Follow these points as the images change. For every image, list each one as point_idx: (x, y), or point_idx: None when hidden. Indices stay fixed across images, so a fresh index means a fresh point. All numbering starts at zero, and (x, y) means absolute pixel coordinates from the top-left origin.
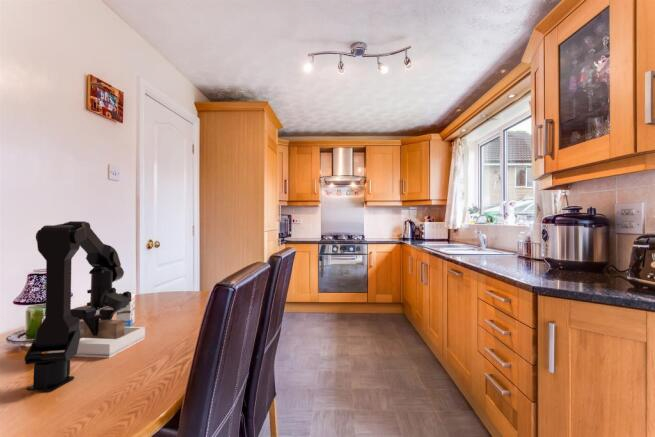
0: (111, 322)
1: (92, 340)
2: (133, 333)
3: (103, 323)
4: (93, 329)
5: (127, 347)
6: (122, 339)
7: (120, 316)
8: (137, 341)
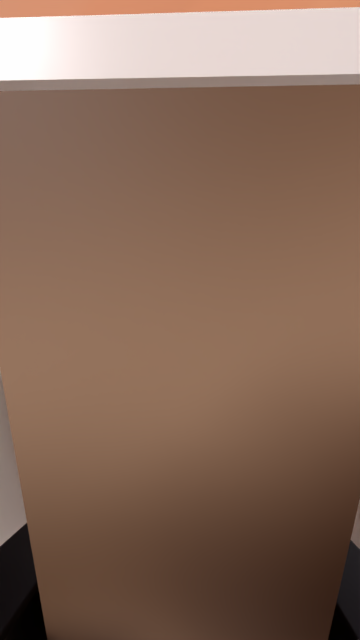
0: (292, 391)
1: None
2: (87, 21)
3: (343, 549)
4: None
5: None
6: (342, 24)
7: None
8: None
